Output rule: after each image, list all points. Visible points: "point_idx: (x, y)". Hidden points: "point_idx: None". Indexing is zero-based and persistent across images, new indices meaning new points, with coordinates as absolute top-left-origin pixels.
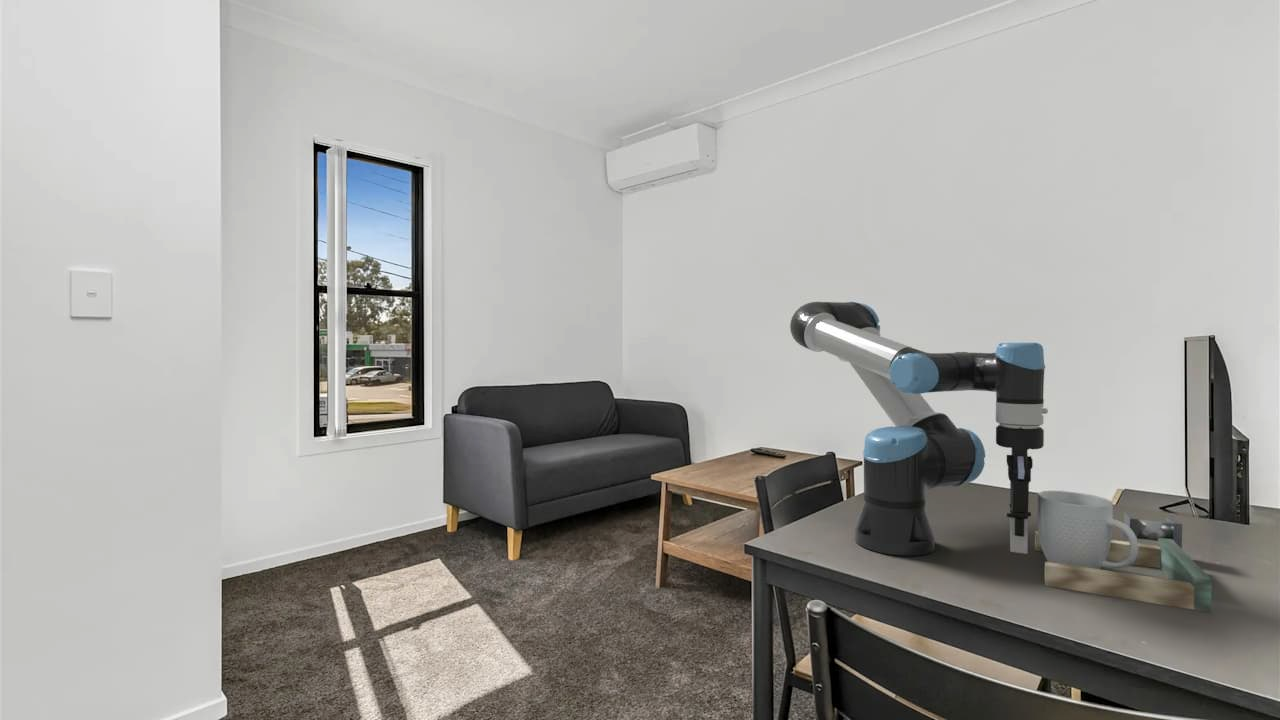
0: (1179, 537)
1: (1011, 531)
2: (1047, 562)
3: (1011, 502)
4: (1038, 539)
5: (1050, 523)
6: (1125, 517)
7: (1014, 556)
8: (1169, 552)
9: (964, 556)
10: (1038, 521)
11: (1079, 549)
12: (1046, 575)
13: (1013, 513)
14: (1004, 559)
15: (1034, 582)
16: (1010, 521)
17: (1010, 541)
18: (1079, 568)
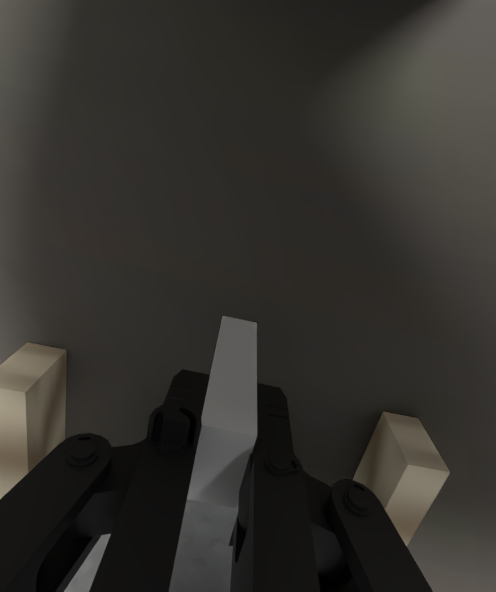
0: None
1: (212, 369)
2: (15, 397)
3: (255, 533)
4: (394, 450)
5: (91, 567)
6: None
7: (304, 329)
8: None
9: (251, 123)
10: (199, 528)
11: None
12: (4, 362)
13: (51, 459)
14: (258, 286)
15: (44, 319)
16: (209, 402)
17: (218, 337)
18: (5, 468)
